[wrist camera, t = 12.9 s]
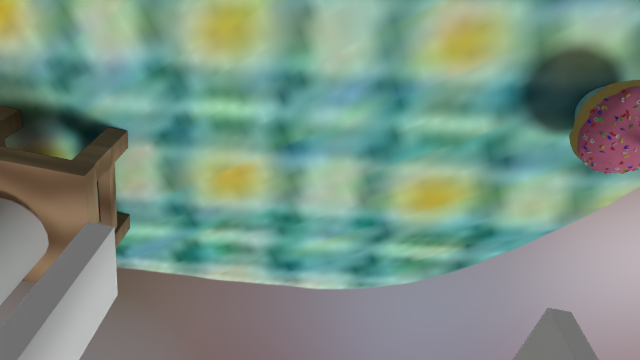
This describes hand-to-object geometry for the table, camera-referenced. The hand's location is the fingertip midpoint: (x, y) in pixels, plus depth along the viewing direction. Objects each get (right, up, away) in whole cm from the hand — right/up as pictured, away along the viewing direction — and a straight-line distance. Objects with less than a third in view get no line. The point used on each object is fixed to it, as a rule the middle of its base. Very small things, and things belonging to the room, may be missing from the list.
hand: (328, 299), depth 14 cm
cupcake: (+27, +11, +30) cm, 41 cm away
